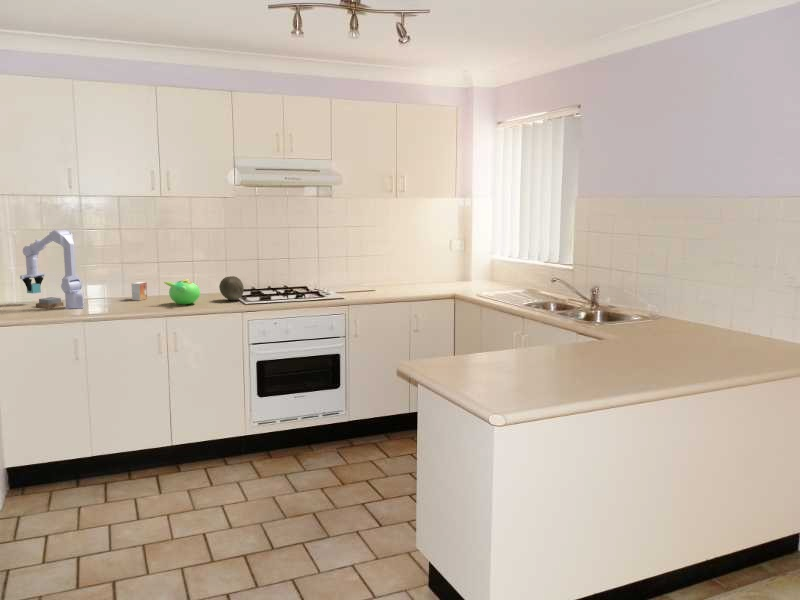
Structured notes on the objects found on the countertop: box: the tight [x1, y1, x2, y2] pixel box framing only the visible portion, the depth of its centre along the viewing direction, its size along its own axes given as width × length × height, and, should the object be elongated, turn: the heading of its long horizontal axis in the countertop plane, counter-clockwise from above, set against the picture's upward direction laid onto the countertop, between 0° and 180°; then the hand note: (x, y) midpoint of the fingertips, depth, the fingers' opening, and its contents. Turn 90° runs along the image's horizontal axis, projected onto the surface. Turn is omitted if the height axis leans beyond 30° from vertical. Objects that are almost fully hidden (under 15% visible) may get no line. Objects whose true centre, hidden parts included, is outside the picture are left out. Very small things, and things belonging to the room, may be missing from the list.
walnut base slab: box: [35, 301, 64, 309], centre depth 390 cm, size 10×10×2 cm
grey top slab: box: [38, 296, 62, 304], centre depth 389 cm, size 8×8×2 cm
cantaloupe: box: [218, 275, 245, 302], centre depth 415 cm, size 14×14×15 cm
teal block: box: [26, 282, 42, 294], centre depth 394 cm, size 5×5×5 cm
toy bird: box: [163, 278, 201, 306], centre depth 400 cm, size 18×17×15 cm
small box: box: [131, 281, 148, 301], centre depth 415 cm, size 8×6×10 cm
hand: (33, 290), depth 394 cm, fingers closed on teal block, 5 cm apart
